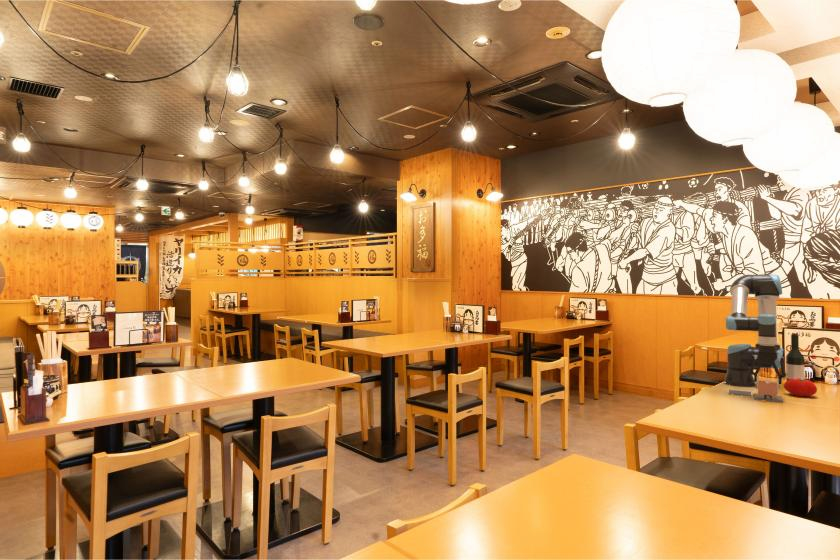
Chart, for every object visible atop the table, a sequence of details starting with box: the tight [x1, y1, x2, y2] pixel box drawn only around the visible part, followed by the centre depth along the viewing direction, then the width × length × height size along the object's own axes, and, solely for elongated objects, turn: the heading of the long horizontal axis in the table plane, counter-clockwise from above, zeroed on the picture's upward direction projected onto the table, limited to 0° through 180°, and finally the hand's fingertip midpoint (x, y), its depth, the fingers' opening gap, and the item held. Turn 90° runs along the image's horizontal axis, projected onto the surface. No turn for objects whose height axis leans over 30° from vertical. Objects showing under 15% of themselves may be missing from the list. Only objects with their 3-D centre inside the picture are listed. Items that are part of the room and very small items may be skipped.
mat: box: [728, 389, 752, 397], centre depth 264 cm, size 10×10×1 cm
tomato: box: [783, 379, 818, 397], centre depth 258 cm, size 14×13×9 cm
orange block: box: [757, 378, 779, 396], centre depth 251 cm, size 8×8×7 cm
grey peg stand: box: [752, 392, 785, 404], centre depth 251 cm, size 12×12×7 cm
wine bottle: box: [785, 332, 806, 381], centre depth 282 cm, size 8×8×30 cm
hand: (767, 389), depth 251 cm, fingers closed on orange block, 8 cm apart
